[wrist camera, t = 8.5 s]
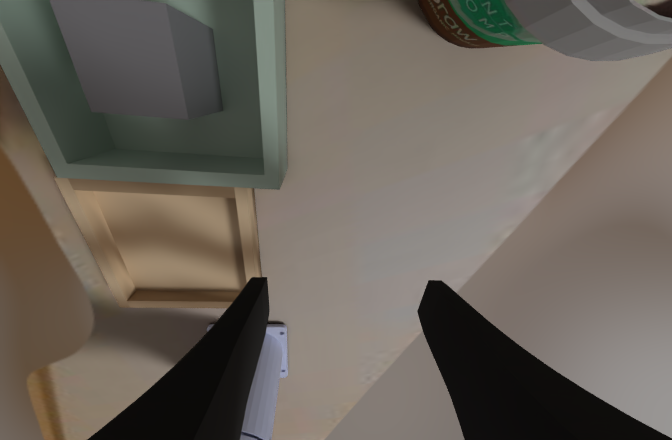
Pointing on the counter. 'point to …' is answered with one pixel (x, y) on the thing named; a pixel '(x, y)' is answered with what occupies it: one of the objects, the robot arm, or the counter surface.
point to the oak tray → (168, 240)
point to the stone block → (141, 58)
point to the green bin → (153, 132)
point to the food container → (556, 25)
